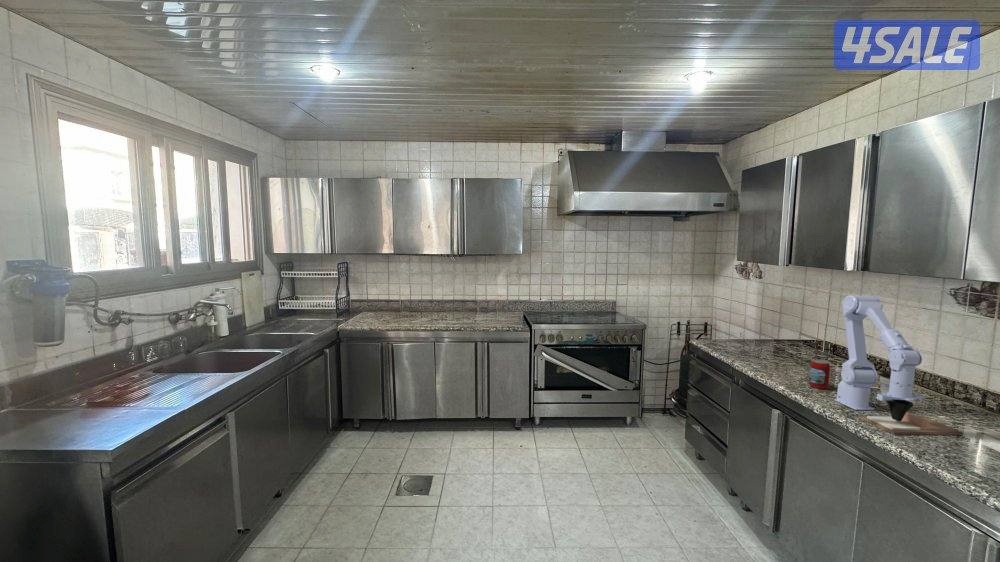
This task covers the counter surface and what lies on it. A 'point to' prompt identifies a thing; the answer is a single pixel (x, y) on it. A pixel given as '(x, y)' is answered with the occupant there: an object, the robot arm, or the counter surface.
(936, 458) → the counter surface
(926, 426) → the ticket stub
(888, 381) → the coffee cup
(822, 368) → the beverage can
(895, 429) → the board
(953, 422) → the counter surface
